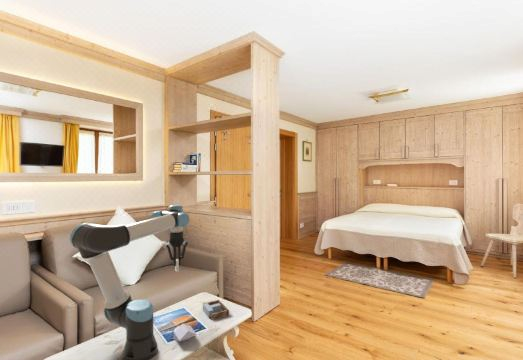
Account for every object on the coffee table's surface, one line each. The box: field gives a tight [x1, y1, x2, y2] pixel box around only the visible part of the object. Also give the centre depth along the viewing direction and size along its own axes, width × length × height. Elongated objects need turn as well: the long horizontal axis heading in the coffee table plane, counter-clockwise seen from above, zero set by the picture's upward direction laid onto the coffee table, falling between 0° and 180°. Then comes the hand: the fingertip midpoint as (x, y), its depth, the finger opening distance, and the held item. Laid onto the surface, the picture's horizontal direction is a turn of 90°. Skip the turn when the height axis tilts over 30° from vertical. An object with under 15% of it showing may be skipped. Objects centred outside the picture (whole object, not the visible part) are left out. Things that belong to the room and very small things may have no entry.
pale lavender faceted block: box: [173, 323, 198, 342], centre depth 146 cm, size 9×7×13 cm
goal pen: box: [202, 299, 230, 321], centre depth 173 cm, size 10×16×3 cm, turn 30°
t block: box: [202, 302, 222, 319], centre depth 172 cm, size 9×10×4 cm
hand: (176, 270), depth 169 cm, fingers closed
